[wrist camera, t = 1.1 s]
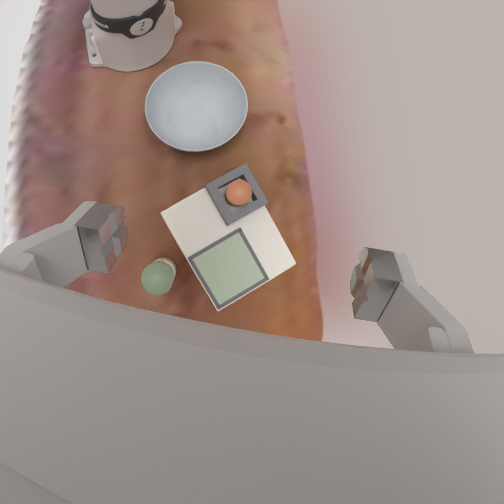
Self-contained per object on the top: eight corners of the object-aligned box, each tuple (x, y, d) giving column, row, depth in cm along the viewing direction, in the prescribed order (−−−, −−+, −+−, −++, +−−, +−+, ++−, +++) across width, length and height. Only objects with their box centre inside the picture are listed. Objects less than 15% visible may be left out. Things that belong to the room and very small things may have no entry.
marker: (147, 265, 48) (135, 273, 36) (168, 252, 49) (162, 256, 37) (159, 287, 49) (151, 301, 37) (181, 274, 49) (179, 284, 38)
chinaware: (177, 180, 49) (175, 170, 41) (135, 109, 47) (128, 89, 39) (255, 137, 51) (266, 121, 43) (211, 70, 49) (216, 47, 41)
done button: (220, 190, 48) (222, 186, 45) (240, 179, 49) (244, 175, 45) (231, 210, 49) (235, 208, 45) (251, 199, 49) (256, 196, 46)
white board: (160, 213, 48) (158, 211, 45) (242, 168, 51) (246, 162, 47) (217, 310, 51) (219, 315, 47) (294, 263, 53) (302, 265, 49)
